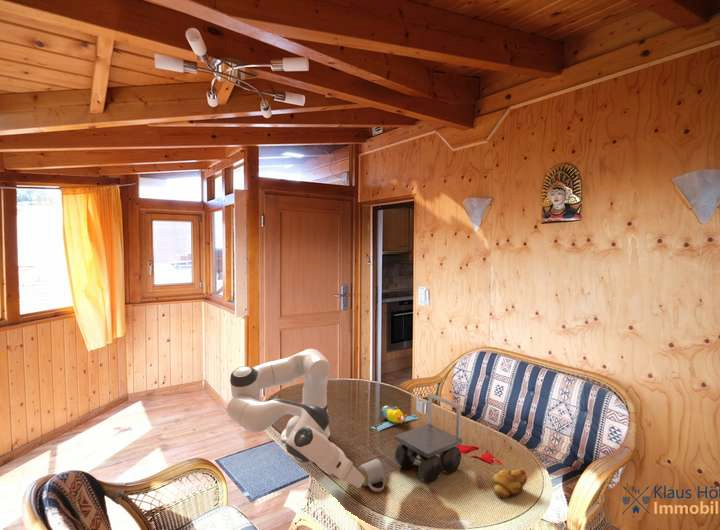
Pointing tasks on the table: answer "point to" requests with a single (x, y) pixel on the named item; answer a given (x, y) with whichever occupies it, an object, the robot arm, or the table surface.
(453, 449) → the trolley
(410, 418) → the owl figurine
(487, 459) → the cloth
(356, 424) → the table surface
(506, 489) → the bread roll
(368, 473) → the ceramic mug
